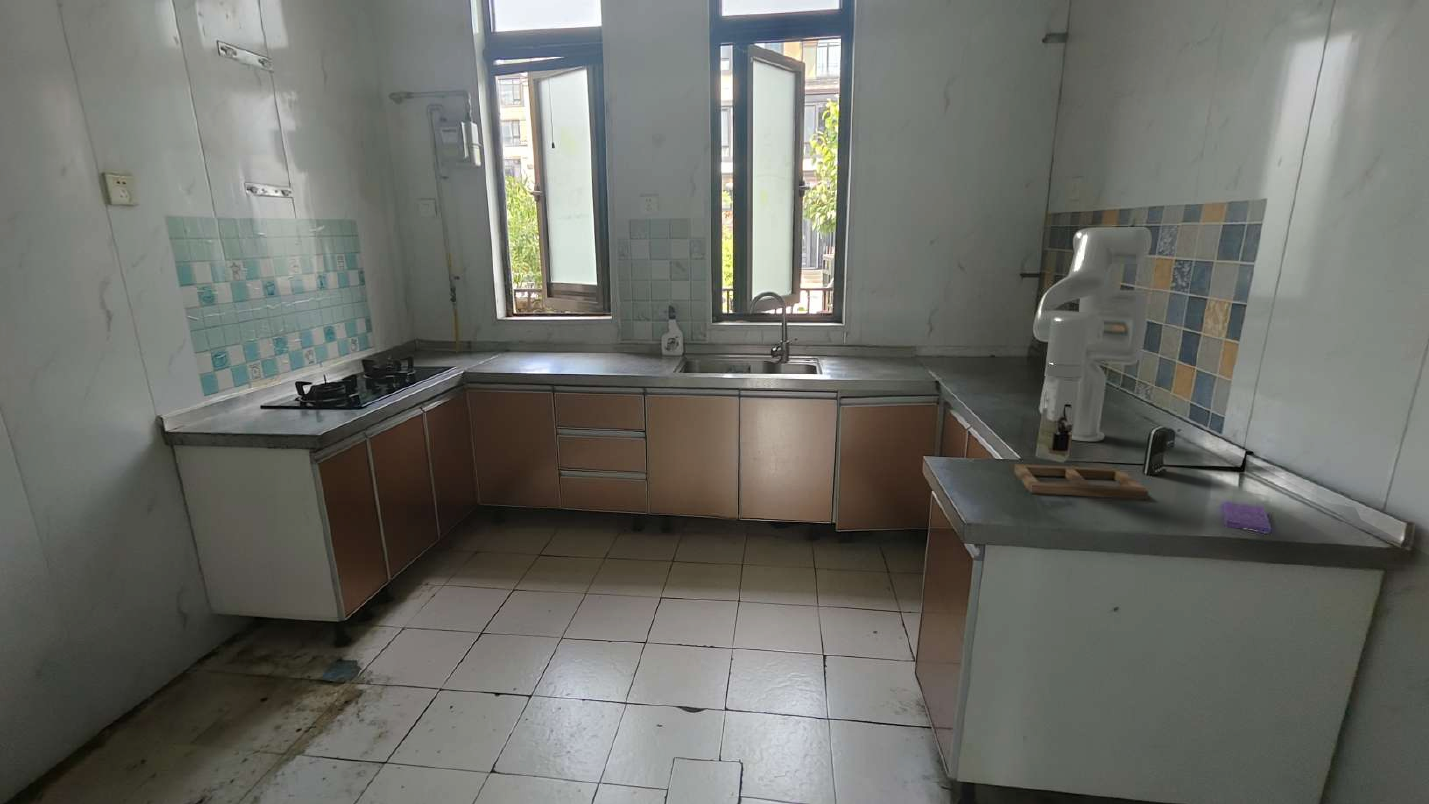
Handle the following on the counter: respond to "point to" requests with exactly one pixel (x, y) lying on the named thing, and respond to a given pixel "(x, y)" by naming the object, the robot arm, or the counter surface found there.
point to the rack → (1079, 481)
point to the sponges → (1245, 516)
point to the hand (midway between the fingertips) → (1054, 444)
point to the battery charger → (1157, 449)
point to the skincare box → (1050, 441)
